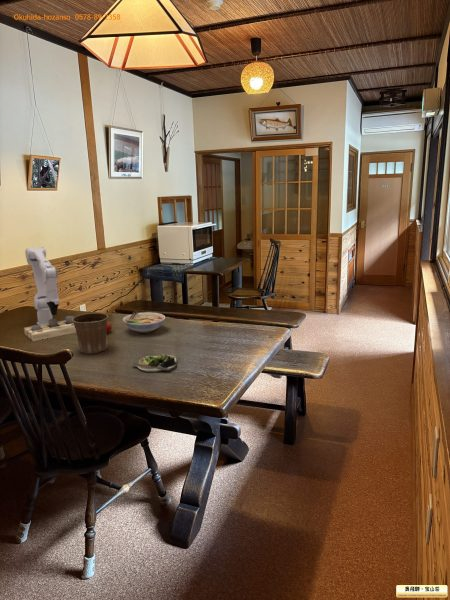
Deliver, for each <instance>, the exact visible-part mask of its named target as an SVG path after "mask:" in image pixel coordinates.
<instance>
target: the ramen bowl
mask: <svg viewBox="0 0 450 600" xmlns="http://www.w3.org/2000/svg"><path fill="white" fill-rule="evenodd" d="M165 320H166V316H165V315H164V314H162V313H159V312H151V311H147V312H140V311H139V310H136V309H135V310H133V312H132V314H129V315H126V316H124V317H123V318H122V322H123V323H124V324H125V326H126V327H128V329H130V330H132V331H134V332H138V333H143V334H144V333H146V334H147V333H150V332H152V331H154V330H157V329H158V328H160V327H161V326H162V325H163V323H164V322H165Z"/></svg>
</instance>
